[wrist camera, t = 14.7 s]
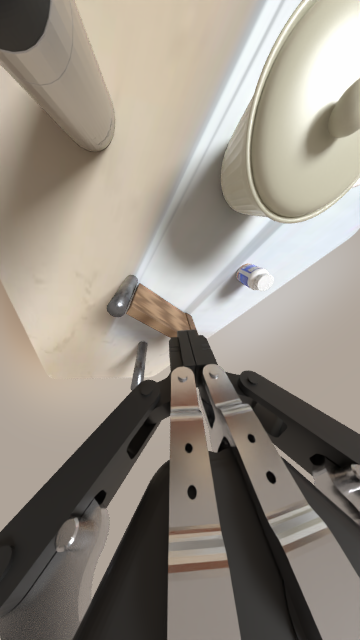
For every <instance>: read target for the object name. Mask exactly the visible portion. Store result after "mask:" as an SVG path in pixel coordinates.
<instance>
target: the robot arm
mask: <svg viewBox="0 0 360 640" xmlns="http://www.w3.org/2000/svg"><path fill="white" fill-rule="evenodd" d="M0 65H1V66H2V67H3V68H4V69H5V70H6V71H7V72H8V73H9V74H10V75H11V76H12V77H13V78H14V79H15V80H16V81H17V82H18V83H19V84H20V85H21V87H22V88H23V89H24V90H25V91H26V92H27V93H28V94H29V95H30V96H31V97H32V98H33V99H34V100H35V101H36V102H37V103H38V104H39V105H40V106H41V107H42V108H43V109H44V110H45V111H46V112H47V113H48V115H49V116H50V117H51V118H52V119H53V120H54V121H55V122H56V123H57V124H58V125H59V126H60V127H61V128H62V129H63V130H64V131H65V132H66V133H67V134H68V135H69V136H70V137H71V138H72V140H73V141H74V142H76V143H77V144H78V145H79V146H81V147H82V148H84V149H86V150H89V151H101V150H103V149H105V148H106V147H107V146H108V145H109V143H110V142H111V140H112V137H113V134H114V129H115V116H114V109H113V105H112V101H111V98H110V95H109V93H108V90H107V87H106V84H105V82H104V79H103V76H102V73H101V71H100V68H99V65H98V63H97V60H96V57H95V54H94V52H93V49H92V46H91V44H90V41H89V38H88V36H87V33H86V30H85V28H84V25H83V22H82V19H81V17H80V14H79V11H78V9H77V6H76V3H75V1H74V0H0ZM169 355H170V368H171V372H170V374H169V376H168V377H167V378H166V379H164V380H162V381H159V382H155V381H153V380H145V381H143V382H141V383H139V384H138V385H137V386H136V387H135V388H134V389H133V391H132V392H131V393H130V394H129V395H128V396H127V397H126V398H125V399H124V400H123V401H122V402H121V403H120V405H119V406H118V407H117V408H116V409H115V410H114V411H113V412H112V413H111V414H110V415H109V416H108V417H107V418H106V419H105V421H104V422H103V423H102V424H101V425H100V426H99V427H98V428H97V429H96V430H95V431H94V432H93V433H92V434H91V436H90V437H89V438H88V439H87V440H86V441H85V442H84V443H83V444H82V445H81V447H79V448H78V450H77V451H76V452H75V453H74V454H73V455H72V456H71V457H70V458H69V459H68V460H67V461H66V462H65V463H64V464H63V465H62V467H61V468H60V469H59V470H58V471H57V472H56V473H55V474H54V475H53V476H52V477H51V478H50V479H49V481H48V482H47V483H46V484H45V485H44V486H43V487H42V488H41V489H40V490H39V491H38V492H37V493H36V494H35V495H34V497H33V498H32V499H31V500H30V501H29V502H28V503H27V504H26V505H25V506H24V507H23V508H22V509H21V510H20V512H19V513H18V514H17V515H16V516H15V517H14V518H13V519H12V520H11V521H10V522H9V523H8V525H6V527H5V528H4V529H3V530H2V531H1V532H0V638H1V640H360V434H358V433H357V432H355V431H353V430H352V429H350V428H348V427H346V426H345V425H343V424H341V423H340V422H338V421H336V420H335V419H333V418H331V417H330V416H328V415H326V414H324V413H323V412H321V411H320V410H318V409H316V408H314V407H313V406H311V405H309V404H308V403H306V402H304V401H303V400H301V399H299V398H298V397H296V396H294V395H292V394H291V393H289V392H288V391H286V390H284V389H282V388H281V387H279V386H277V385H276V384H274V383H272V382H271V381H269V380H267V379H266V378H264V377H262V376H261V375H259V374H257V373H255V372H253V371H244V372H242V373H241V375H236V374H231V373H227V372H225V371H224V370H223V368H221V367H220V366H218V364H217V362H216V359H215V357H214V355H213V353H212V350H211V349H210V346H209V343H208V341H207V339H206V338H205V337H204V336H203V335H198V334H197V331H196V329H195V330H179V331H177V337H171V339H170V341H169ZM196 387H198V389H199V400H200V403H201V406H202V410H203V413H204V416H205V419H206V422H207V426H208V429H209V433H210V442H211V447H212V450H213V452H211V451H208V448H207V441H206V435H205V429H204V423H203V417H202V413H201V411H200V410H199V405H198V398H197V391H196ZM169 416H170V460H168V461H167V462H166V463H164V464H163V465H162V466H161V467H160V468H159V469H158V471H157V472H156V473H155V475H154V476H153V478H152V480H151V481H150V483H149V485H148V487H147V489H146V491H145V493H144V495H143V497H142V499H141V501H140V503H139V505H138V507H137V509H136V511H135V513H134V515H133V517H132V519H131V522H130V523H129V525H128V528H127V529H126V531H125V533H124V536H123V538H122V540H121V542H120V544H119V546H118V548H117V550H116V552H115V554H114V556H113V558H112V560H111V562H110V564H109V566H108V568H107V570H106V572H105V574H104V576H103V578H102V581H101V582H100V584H99V586H98V589H97V591H96V593H95V595H94V597H93V599H92V601H91V588H92V580H93V575H94V571H95V567H96V564H97V561H98V559H99V557H100V554H101V552H102V550H103V548H104V545H105V542H106V540H107V536H108V532H109V514H108V511H107V509H106V508H107V506H108V505H109V503H110V501H111V500H112V498H113V497H114V495H115V494H116V492H117V490H118V489H119V487H120V486H121V484H122V482H123V481H124V479H125V478H126V476H127V475H128V473H129V471H130V470H131V468H132V466H133V465H134V463H135V462H136V460H137V459H138V457H139V456H140V454H141V452H142V451H143V449H144V448H145V446H146V444H147V443H148V441H149V440H150V438H151V437H152V435H153V433H154V432H155V430H156V429H157V427H158V425H159V424H160V422H161V420H163V419H165V418H167V417H169ZM273 444H274V445H276V446H277V447H278V448H279V449H280V450H282V451H283V452H284V453H285V454H287V455H288V456H289V457H290V458H291V459H293V460H294V461H295V462H296V463H297V464H299V465H300V466H301V467H302V468H304V469H305V470H306V471H307V472H308V473H310V474H311V475H312V476H313V478H314V480H315V481H314V484H315V486H314V485H313V484H312V483H311V482H310V481H308V480H307V479H306V478H305V477H304V476H303V475H302V474H300V473H299V472H298V471H297V470H296V469H295V468H294V467H293V466H292V465H291V464H289V463H288V462H287V461H286V460H285V459H284V458H282V457H281V456H280V455H279V454H278V452H277V450H276V448H275V447H274V445H273Z"/></svg>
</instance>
